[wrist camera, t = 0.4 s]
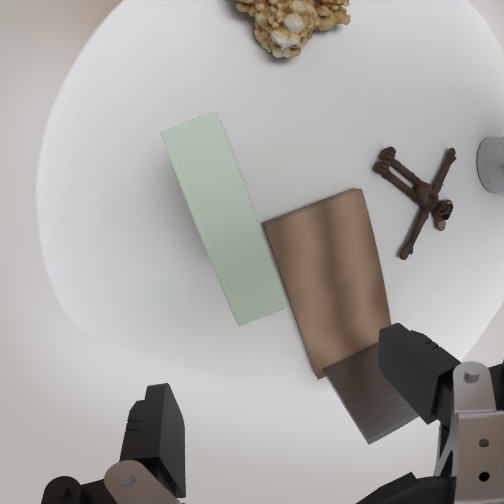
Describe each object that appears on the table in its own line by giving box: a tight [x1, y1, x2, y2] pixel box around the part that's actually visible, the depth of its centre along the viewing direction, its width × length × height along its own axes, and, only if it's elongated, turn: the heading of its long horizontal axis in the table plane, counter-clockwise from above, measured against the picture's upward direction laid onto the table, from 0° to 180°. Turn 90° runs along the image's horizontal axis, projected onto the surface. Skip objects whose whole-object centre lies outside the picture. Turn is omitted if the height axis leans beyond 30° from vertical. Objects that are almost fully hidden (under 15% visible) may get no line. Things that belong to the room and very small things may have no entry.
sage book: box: [160, 111, 288, 326], centre depth 26 cm, size 4×13×16 cm, turn 20°
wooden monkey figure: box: [373, 147, 456, 260], centre depth 36 cm, size 18×4×14 cm
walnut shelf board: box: [262, 188, 391, 379], centre depth 38 cm, size 12×22×2 cm, turn 20°
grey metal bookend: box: [323, 341, 419, 444], centre depth 33 cm, size 10×1×14 cm, turn 110°
